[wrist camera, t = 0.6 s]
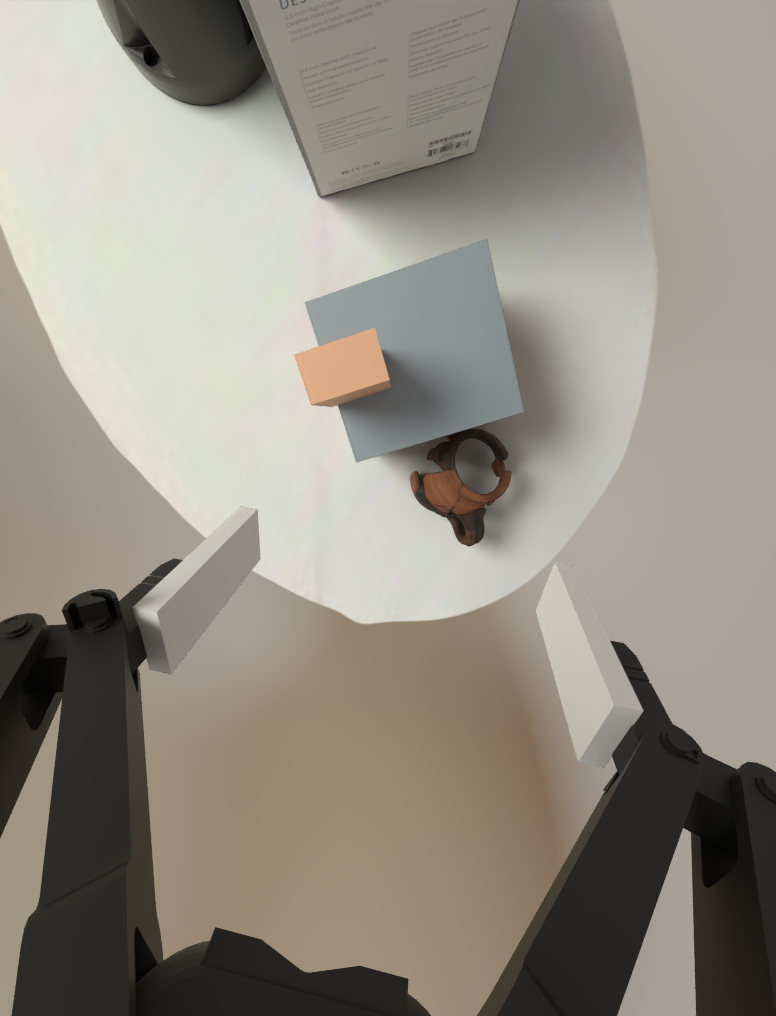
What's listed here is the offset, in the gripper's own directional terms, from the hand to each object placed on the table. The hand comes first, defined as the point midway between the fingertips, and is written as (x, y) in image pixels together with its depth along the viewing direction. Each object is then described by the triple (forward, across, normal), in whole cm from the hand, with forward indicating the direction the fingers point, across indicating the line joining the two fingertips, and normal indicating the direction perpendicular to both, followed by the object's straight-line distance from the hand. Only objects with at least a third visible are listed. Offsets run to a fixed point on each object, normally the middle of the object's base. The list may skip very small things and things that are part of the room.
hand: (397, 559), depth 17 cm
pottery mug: (+26, +4, -7) cm, 28 cm away
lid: (+18, -2, +6) cm, 19 cm away
